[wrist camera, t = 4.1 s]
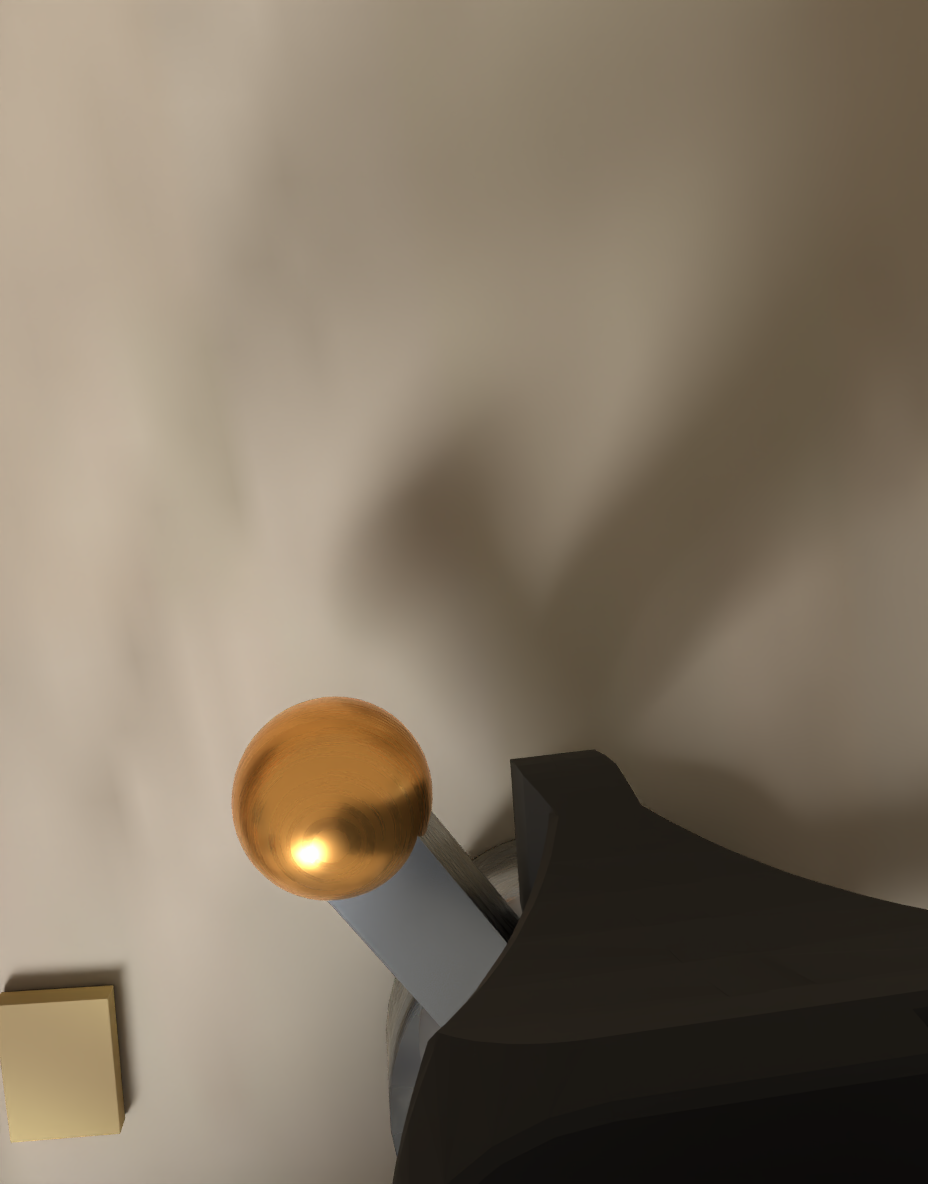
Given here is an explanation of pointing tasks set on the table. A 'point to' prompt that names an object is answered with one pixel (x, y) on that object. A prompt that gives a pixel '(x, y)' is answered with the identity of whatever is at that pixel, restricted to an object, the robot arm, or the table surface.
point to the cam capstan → (377, 862)
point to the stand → (61, 1063)
